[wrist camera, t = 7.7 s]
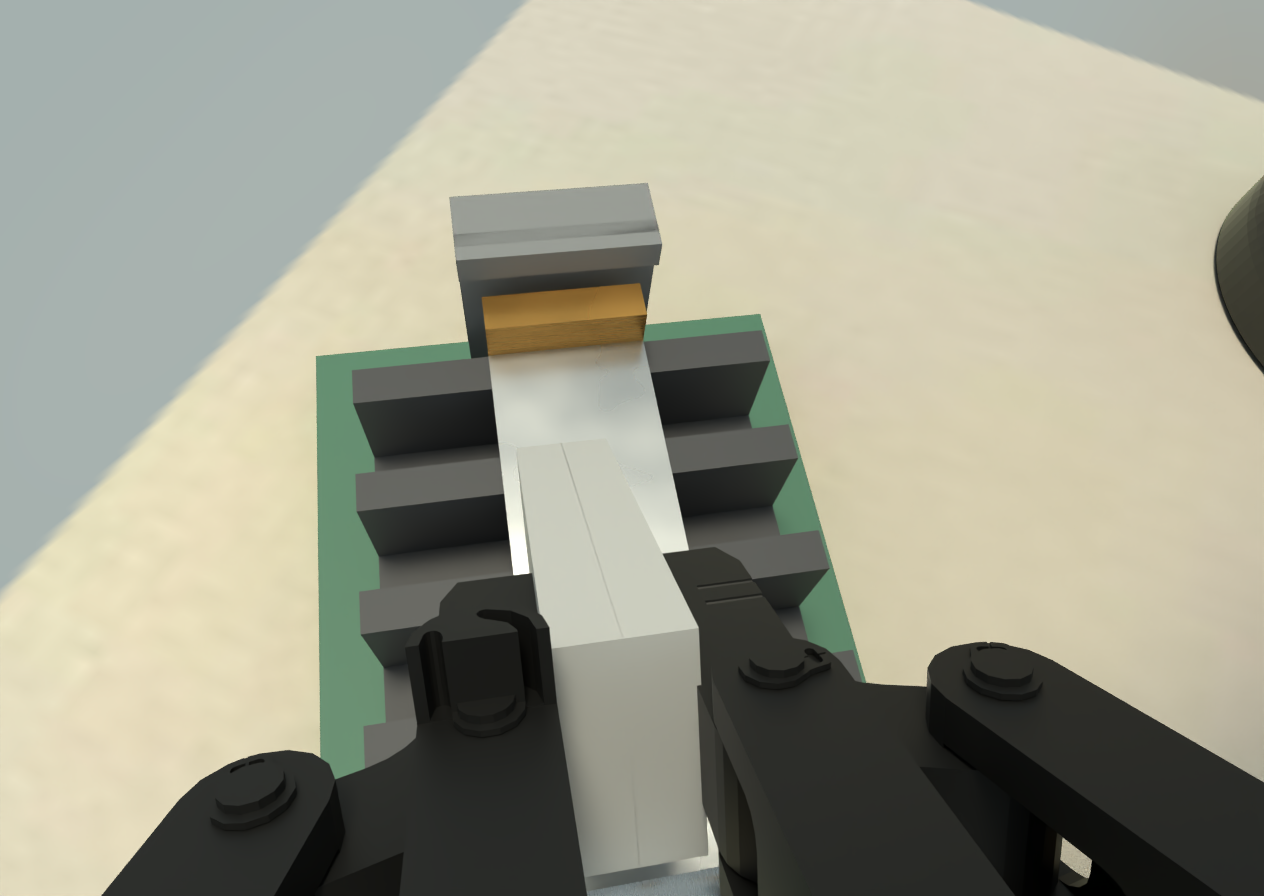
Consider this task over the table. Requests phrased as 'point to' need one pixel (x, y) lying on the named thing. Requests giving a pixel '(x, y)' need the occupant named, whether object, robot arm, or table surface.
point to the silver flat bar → (587, 410)
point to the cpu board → (471, 468)
